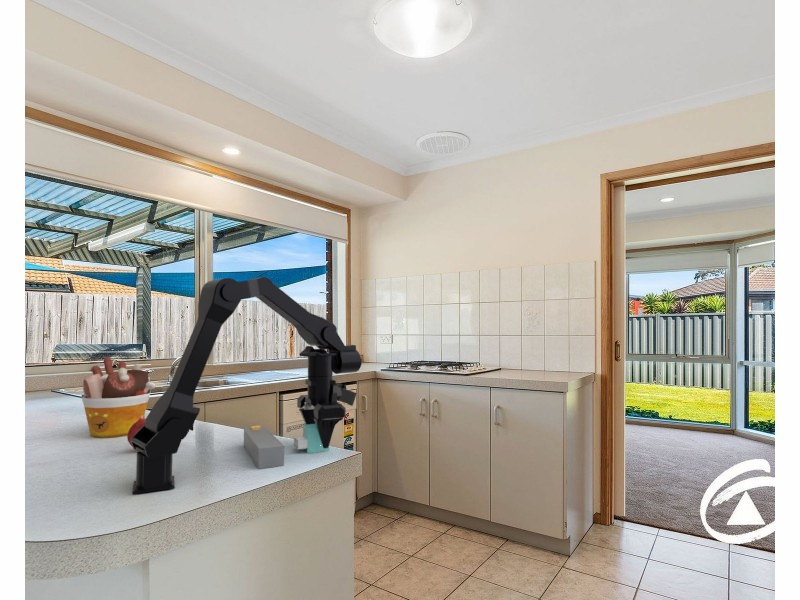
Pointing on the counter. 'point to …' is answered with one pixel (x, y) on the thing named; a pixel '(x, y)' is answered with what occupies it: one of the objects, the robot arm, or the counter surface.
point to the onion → (135, 428)
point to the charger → (309, 440)
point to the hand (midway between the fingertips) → (319, 443)
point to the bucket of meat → (115, 399)
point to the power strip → (263, 447)
